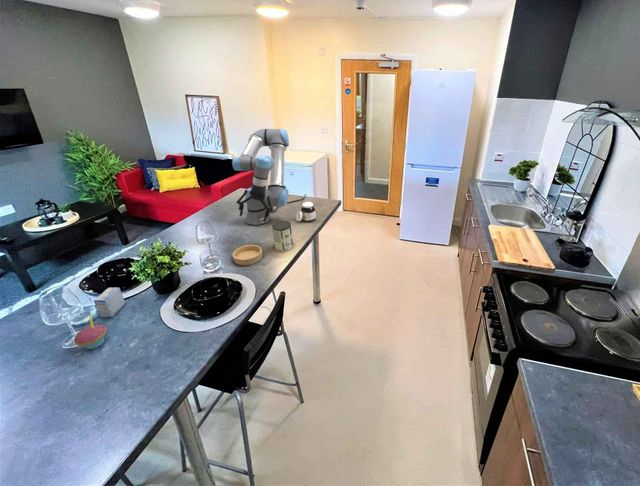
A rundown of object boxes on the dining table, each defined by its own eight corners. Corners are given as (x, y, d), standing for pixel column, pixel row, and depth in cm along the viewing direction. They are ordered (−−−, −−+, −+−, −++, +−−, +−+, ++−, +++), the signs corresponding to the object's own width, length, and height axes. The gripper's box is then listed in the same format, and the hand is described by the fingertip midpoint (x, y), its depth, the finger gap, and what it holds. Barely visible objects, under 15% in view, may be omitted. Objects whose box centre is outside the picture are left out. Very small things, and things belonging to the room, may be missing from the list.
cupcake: (106, 330, 109) (94, 306, 104) (114, 341, 104) (102, 316, 99) (76, 346, 102) (62, 321, 97) (83, 358, 98) (69, 333, 93)
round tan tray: (245, 248, 163) (244, 242, 162) (267, 252, 160) (267, 247, 158) (227, 262, 151) (226, 256, 149) (251, 267, 147) (250, 261, 146)
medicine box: (115, 303, 122) (107, 287, 118) (126, 303, 122) (119, 286, 118) (100, 317, 114) (92, 300, 111) (112, 317, 115) (105, 300, 111)
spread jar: (317, 219, 199) (317, 203, 195) (306, 225, 191) (305, 209, 186) (305, 215, 205) (304, 200, 200) (293, 220, 196) (292, 205, 192)
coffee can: (281, 240, 172) (279, 219, 166) (296, 243, 169) (294, 222, 163) (270, 249, 163) (267, 227, 158) (286, 252, 160) (284, 230, 155)
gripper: (233, 180, 155) (228, 215, 162) (280, 192, 160) (273, 225, 167) (238, 176, 162) (232, 210, 169) (282, 188, 167) (275, 220, 174)
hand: (252, 218), depth 168 cm, fingers open, 13 cm apart
